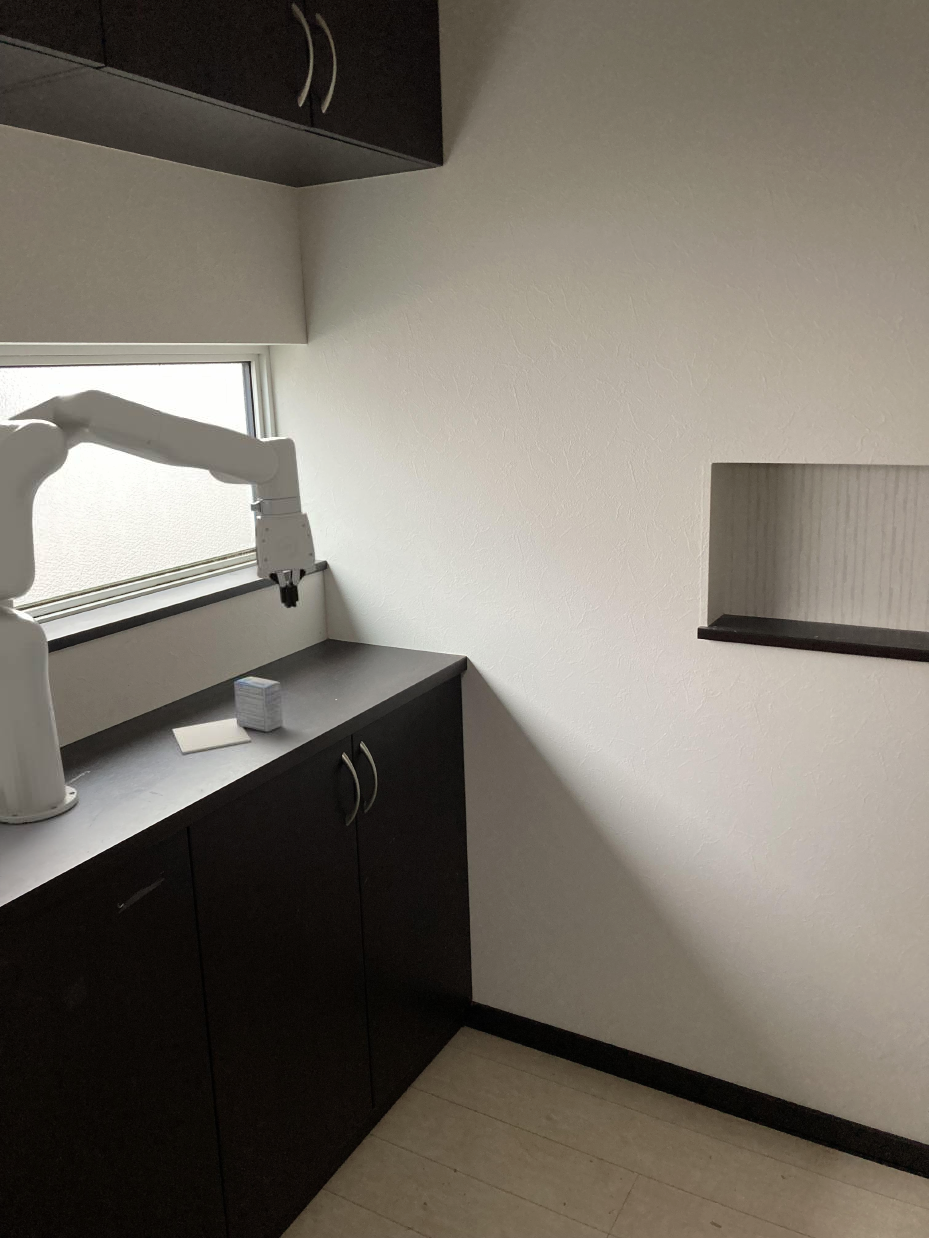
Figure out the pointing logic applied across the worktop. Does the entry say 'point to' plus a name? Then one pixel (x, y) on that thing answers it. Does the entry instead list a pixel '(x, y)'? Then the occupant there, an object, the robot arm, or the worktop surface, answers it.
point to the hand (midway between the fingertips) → (290, 606)
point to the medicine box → (258, 703)
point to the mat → (210, 735)
